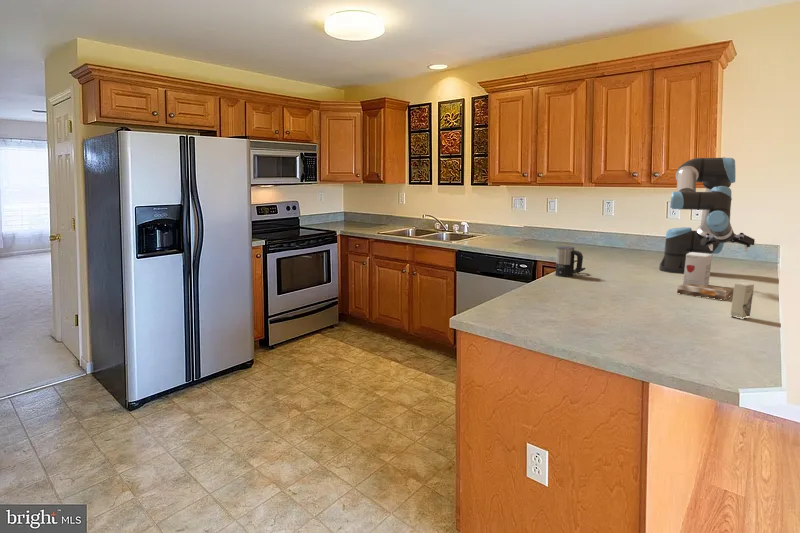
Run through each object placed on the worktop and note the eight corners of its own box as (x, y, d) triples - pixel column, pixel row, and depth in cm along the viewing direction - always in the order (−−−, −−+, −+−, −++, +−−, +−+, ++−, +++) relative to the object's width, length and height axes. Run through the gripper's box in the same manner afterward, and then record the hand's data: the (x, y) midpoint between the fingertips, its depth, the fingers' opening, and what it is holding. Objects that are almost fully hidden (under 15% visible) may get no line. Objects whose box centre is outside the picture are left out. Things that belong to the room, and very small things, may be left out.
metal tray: (676, 293, 221) (677, 284, 220) (687, 287, 232) (688, 279, 232) (724, 301, 209) (725, 291, 208) (733, 294, 220) (734, 285, 219)
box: (742, 320, 182) (746, 285, 180) (729, 317, 186) (733, 283, 183) (750, 318, 184) (754, 284, 182) (737, 315, 188) (742, 281, 186)
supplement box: (682, 284, 238) (685, 253, 235) (688, 282, 244) (691, 251, 242) (703, 288, 232) (707, 256, 229) (709, 285, 238) (712, 253, 235)
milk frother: (552, 275, 259) (554, 247, 256) (558, 270, 273) (560, 243, 270) (581, 278, 253) (583, 249, 250) (586, 273, 266) (588, 245, 264)
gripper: (688, 240, 221) (697, 255, 236) (757, 239, 204) (762, 255, 220) (689, 224, 222) (698, 240, 238) (758, 222, 206) (763, 239, 221)
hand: (729, 248), depth 229 cm, fingers open, 13 cm apart
